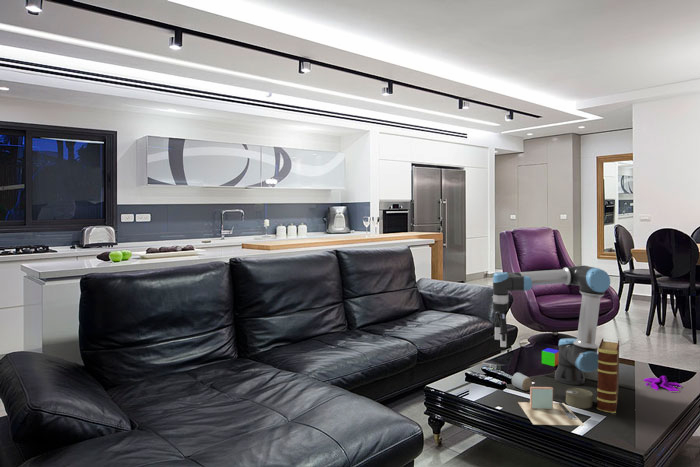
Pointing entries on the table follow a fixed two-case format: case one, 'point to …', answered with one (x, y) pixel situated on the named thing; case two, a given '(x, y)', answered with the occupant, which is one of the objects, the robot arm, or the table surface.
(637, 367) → the table surface
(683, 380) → the table surface
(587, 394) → the beige short cylinder
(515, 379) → the grey cylinder
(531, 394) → the tile
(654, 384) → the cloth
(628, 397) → the table surface
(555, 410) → the board
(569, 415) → the turner
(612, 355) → the decorative book
